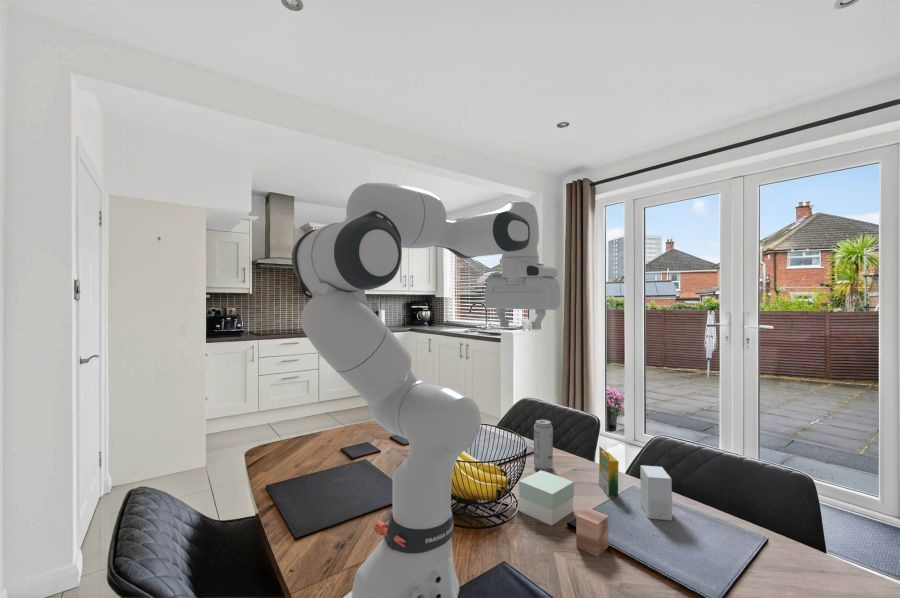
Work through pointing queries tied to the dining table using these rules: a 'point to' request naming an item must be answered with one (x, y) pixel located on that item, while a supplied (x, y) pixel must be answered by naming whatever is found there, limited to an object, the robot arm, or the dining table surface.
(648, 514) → the small box
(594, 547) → the terracotta block
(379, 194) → the robot arm
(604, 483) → the crayon box
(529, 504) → the tower base block
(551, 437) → the energy drink can
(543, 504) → the tower top block
